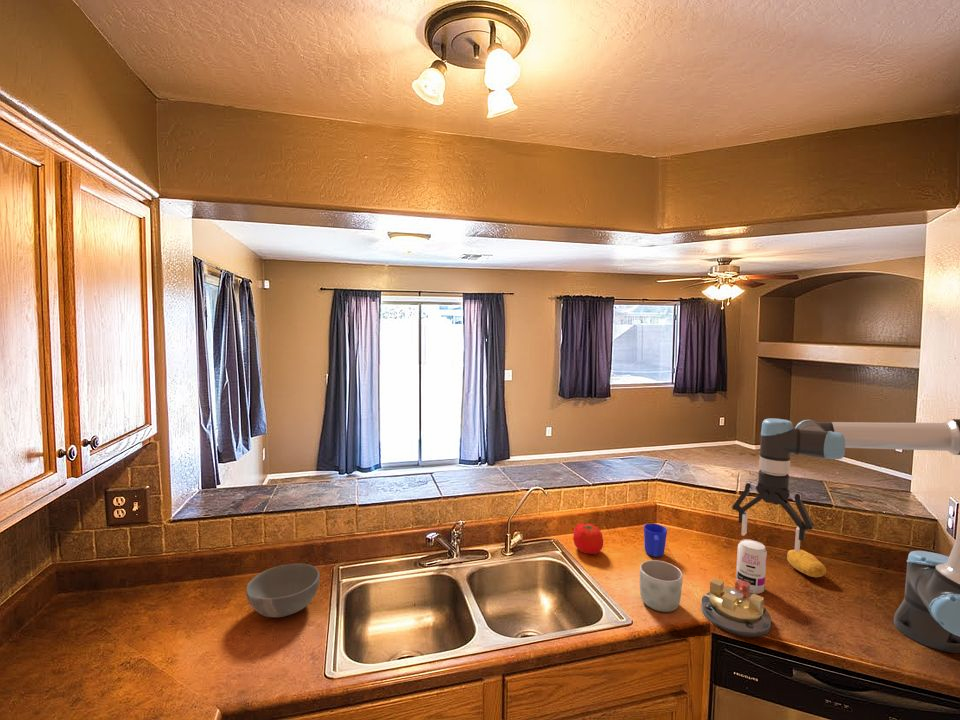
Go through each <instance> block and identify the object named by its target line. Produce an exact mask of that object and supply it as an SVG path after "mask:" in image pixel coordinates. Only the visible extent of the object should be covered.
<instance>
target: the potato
mask: <svg viewBox="0 0 960 720" xmlns="http://www.w3.org/2000/svg"><path fill="white" fill-rule="evenodd" d="M786 559H787V561H788V562H789V564H790V565H791V567H792V568H794V569H795V570H797V571H798V572H800V573H802V574H804V575H806V576H808V577H812V578H820V577H824V576H825V575H826V574H827V568H826V565H825V564H823V563H822V562H821V561H820V560H818V558H817V557H816V556H815V555H813V554H811V552H807V551H806V550H803V549H799V551H798V552H796V551H795V548H794V549H790V550H788V551H787V555H786Z"/></svg>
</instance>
